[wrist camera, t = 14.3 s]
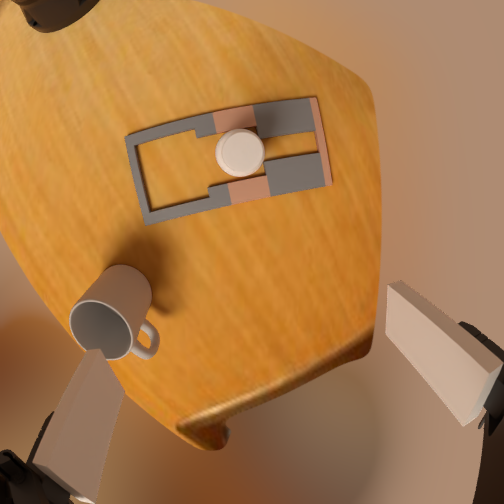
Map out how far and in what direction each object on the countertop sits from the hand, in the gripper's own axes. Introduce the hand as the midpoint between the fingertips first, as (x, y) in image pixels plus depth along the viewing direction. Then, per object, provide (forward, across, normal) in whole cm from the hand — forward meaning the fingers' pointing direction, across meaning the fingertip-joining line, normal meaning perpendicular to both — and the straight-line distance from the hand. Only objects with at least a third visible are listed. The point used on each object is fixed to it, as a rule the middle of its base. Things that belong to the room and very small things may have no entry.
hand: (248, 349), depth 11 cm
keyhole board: (+27, +2, +8) cm, 28 cm away
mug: (+27, -16, -8) cm, 32 cm away
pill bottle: (+27, +3, +8) cm, 28 cm away
